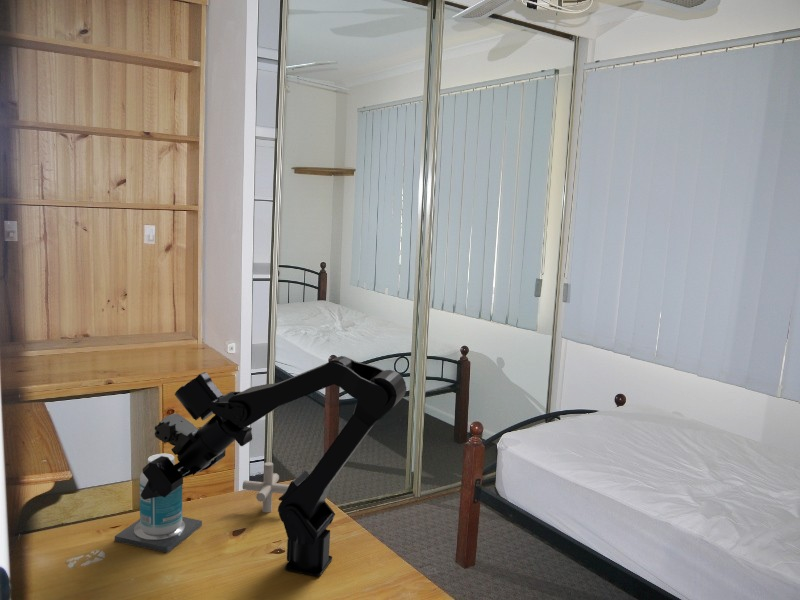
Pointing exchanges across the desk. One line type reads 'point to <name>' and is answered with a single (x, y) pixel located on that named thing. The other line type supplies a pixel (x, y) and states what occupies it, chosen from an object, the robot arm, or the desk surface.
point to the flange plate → (158, 536)
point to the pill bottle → (160, 507)
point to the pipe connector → (266, 487)
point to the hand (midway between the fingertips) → (158, 487)
